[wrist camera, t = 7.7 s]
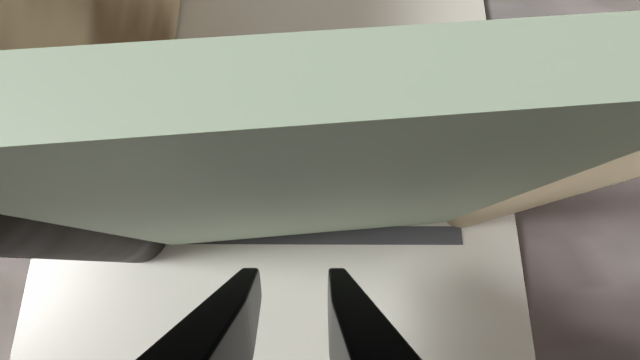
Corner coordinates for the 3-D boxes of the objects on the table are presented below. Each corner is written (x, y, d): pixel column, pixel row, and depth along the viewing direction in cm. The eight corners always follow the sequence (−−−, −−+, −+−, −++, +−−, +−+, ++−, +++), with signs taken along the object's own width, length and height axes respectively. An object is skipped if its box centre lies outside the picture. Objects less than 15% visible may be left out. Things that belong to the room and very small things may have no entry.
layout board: (553, 537, 13) (564, 550, 12) (-19, 543, 12) (-34, 556, 12) (472, -37, 20) (477, -46, 19) (102, -42, 19) (96, -51, 19)
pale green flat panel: (483, 226, 15) (946, 102, 4) (171, 252, 14) (-277, 194, 3) (474, 185, 15) (868, -24, 4) (172, 209, 15) (-221, 41, 4)
